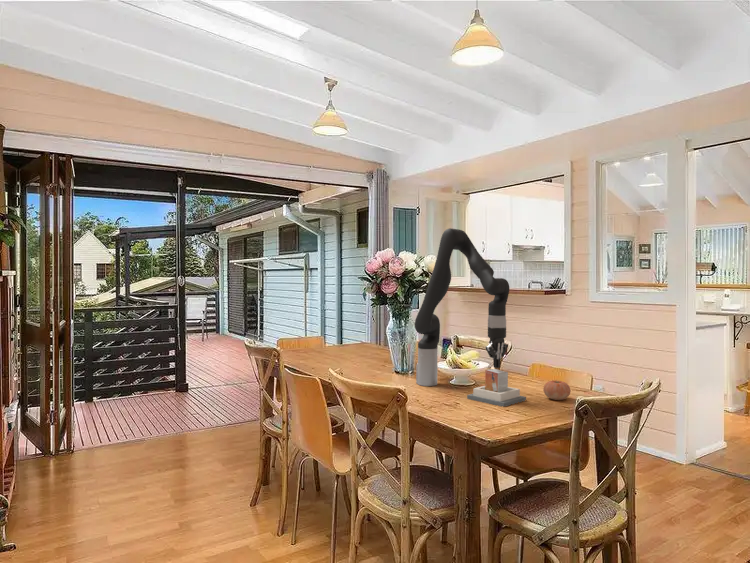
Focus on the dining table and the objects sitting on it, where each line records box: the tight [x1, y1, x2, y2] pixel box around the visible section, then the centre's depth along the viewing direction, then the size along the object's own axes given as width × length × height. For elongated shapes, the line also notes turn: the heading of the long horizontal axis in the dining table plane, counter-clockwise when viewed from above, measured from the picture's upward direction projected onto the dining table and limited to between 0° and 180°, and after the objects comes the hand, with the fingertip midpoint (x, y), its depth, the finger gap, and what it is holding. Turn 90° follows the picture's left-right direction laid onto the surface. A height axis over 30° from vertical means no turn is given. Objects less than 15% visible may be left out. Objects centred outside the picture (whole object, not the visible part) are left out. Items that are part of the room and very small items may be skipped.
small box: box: [484, 368, 509, 393], centre depth 217 cm, size 8×6×10 cm
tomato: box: [542, 380, 572, 401], centre depth 219 cm, size 11×11×8 cm
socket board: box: [466, 385, 527, 408], centre depth 217 cm, size 18×16×4 cm
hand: (496, 367), depth 217 cm, fingers closed
